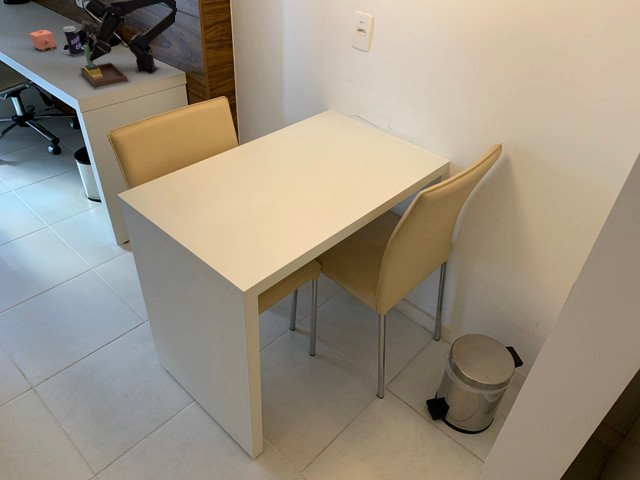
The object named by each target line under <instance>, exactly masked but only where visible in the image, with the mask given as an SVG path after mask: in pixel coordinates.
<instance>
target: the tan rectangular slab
mask: <svg viewBox="0 0 640 480" xmlns="http://www.w3.org/2000/svg"><path fill="white" fill-rule="evenodd" d="M91 77H92V79H93V80H96V79H101V78H103V75H102V74H96V75H91Z"/></svg>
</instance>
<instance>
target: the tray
mask: <svg viewBox="0 0 640 480" xmlns="http://www.w3.org/2000/svg"><path fill="white" fill-rule="evenodd" d="M95 65H96V64H95ZM96 66H97V67H98V68H99V69H100V71H101V74H102V75H103V78H101V79H96V80H93V79H92V77H90V76H89V75H88V74H87V73H86V72H85V69H84V67H80V72H81V74H82V75H83V77H85V78H86V80H87V81H88V82H89V83H90V84H91V85H92V86H93V87H94V88H100V87H104V86H110V85H115V84H119V83H125V82H128V77H127V75H126V74H125V73H123V72H122V71H121V69H119V68H118V67H117V66H116V65H115V64H114V63H113V62H106V63H102V64H97V65H96Z"/></svg>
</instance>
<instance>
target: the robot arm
mask: <svg viewBox="0 0 640 480" xmlns="http://www.w3.org/2000/svg"><path fill="white" fill-rule="evenodd" d="M162 3H163V4H165V5H166V6H167V7H168V8H169V9H170V10H171V11H169V13H167V14H166V15H165V16H164V17H163V18H161V19H160V20H159V21H158V22H156V23H155V24H154V25H153V26H151V27H150V28H149V29H148V30H147V31H145V32H141V30H139V31H138V33H137V34H135V35H133V36H132V37H131V39H130V41H129V44H128V49H129V51H130V52H131V53H132V54H133V55H134V56H135V58H136V59H135V62H136V67H137V72H143V73H148V74H152V73H153V72H154V71H155V70H156V69H158V67H157V66H156V64H155V58H154V54H152V53H153V47H152V46H150V44H151V42H152V41H153V40H155V39H156V38H158V37H159V36H160V35H161V34H162V33H164V32H165V31H166V30H167V29H169V28H170V27H171V26H172V25H174V24H175V23H176V22H175V15H176V12H177V8H176V1H175V0H115V1H113V2H108V3H106V2H104V1H103V0H89V1H88V2H87V3H86V5H85V7H84V9H85V10H86V11H87V12H89V13H90V14H91V15H93V16H94V17H95V18H97V19H100V18H101V19H102V18H103V17H104V18H103V19H102V21H101V22H100V21H99V22H98V23H97V24H95V23H92V22H90V21H86V20H82V21H81V27H80V29H81V31H82V32H85V33H86V37H87V43H86V45H88V46H89V49H90V53H91V56H90V58H89V61H91V62H92V61H93V62H94V61H96V60H97V59H100V58H101V57H103V56H105V55H108V54H110V53H111V52H112V46H111V45H110V42H109V40H110V39H111V38H112V37H114V36H115V33H116V31H117V29H118V27H119V26H120V25H121V24H122V25H127V23H126V17H125V16H127V15H129V14H131V13H133V12H134V11H136V10H139V9H143V8H146V7H151V6H154V5H158V4H162Z"/></svg>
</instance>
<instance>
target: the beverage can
mask: <svg viewBox="0 0 640 480" xmlns="http://www.w3.org/2000/svg"><path fill="white" fill-rule="evenodd" d="M62 32H63V35H64V38H65V42H66V44H67V45H66V46H67V48H68V51H69V55H71V56H73V57H77V56H81V55H82V54H83V52H84V49H83V46H82V43H81V40H80V37H79V33H78V29H77V28H76V26H74V25H67V26H63V30H62Z"/></svg>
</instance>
